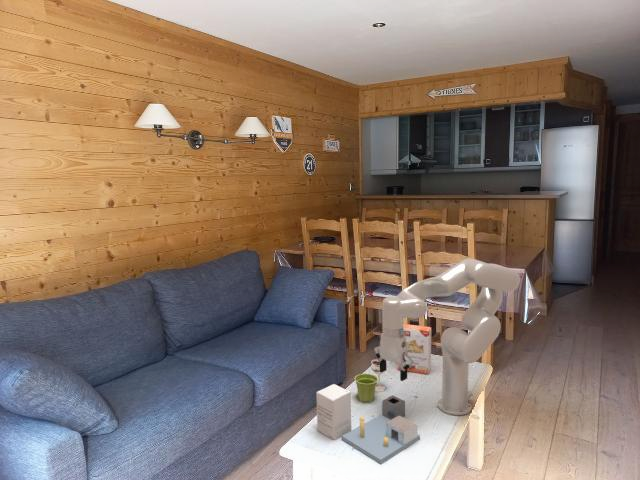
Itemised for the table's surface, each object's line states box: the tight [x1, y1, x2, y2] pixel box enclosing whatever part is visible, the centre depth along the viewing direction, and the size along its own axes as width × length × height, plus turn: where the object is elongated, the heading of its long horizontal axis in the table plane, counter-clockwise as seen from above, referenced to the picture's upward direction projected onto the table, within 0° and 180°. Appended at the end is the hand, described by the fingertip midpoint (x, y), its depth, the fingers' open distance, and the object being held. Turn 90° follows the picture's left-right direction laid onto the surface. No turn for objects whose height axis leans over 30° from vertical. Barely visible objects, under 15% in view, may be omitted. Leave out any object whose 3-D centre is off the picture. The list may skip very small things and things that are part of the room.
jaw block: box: [381, 395, 406, 420], centre depth 173 cm, size 6×6×6 cm
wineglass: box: [370, 358, 388, 393], centre depth 194 cm, size 7×7×12 cm
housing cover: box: [386, 416, 418, 445], centre depth 158 cm, size 7×8×4 cm
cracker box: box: [397, 323, 432, 375], centre depth 210 cm, size 14×6×21 cm, turn 67°
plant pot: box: [354, 373, 379, 403], centre depth 186 cm, size 9×9×9 cm
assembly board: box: [341, 414, 421, 465], centre depth 158 cm, size 20×18×9 cm
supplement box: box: [315, 383, 352, 441], centre depth 164 cm, size 9×9×15 cm
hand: (393, 375), depth 170 cm, fingers open, 9 cm apart
